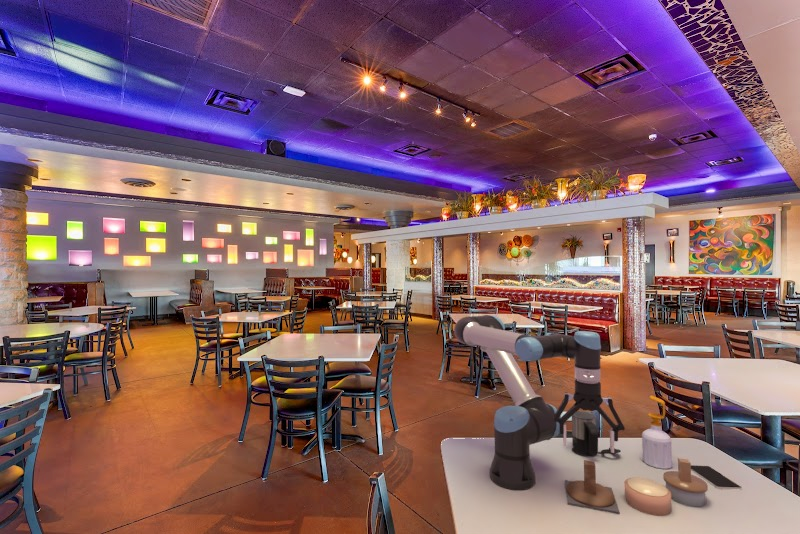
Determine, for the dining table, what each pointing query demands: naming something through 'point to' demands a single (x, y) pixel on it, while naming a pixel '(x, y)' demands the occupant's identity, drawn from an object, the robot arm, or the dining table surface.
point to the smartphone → (714, 477)
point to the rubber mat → (608, 509)
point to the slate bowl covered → (685, 485)
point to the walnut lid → (590, 489)
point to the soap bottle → (657, 442)
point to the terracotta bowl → (648, 496)
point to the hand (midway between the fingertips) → (588, 447)
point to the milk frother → (586, 435)
